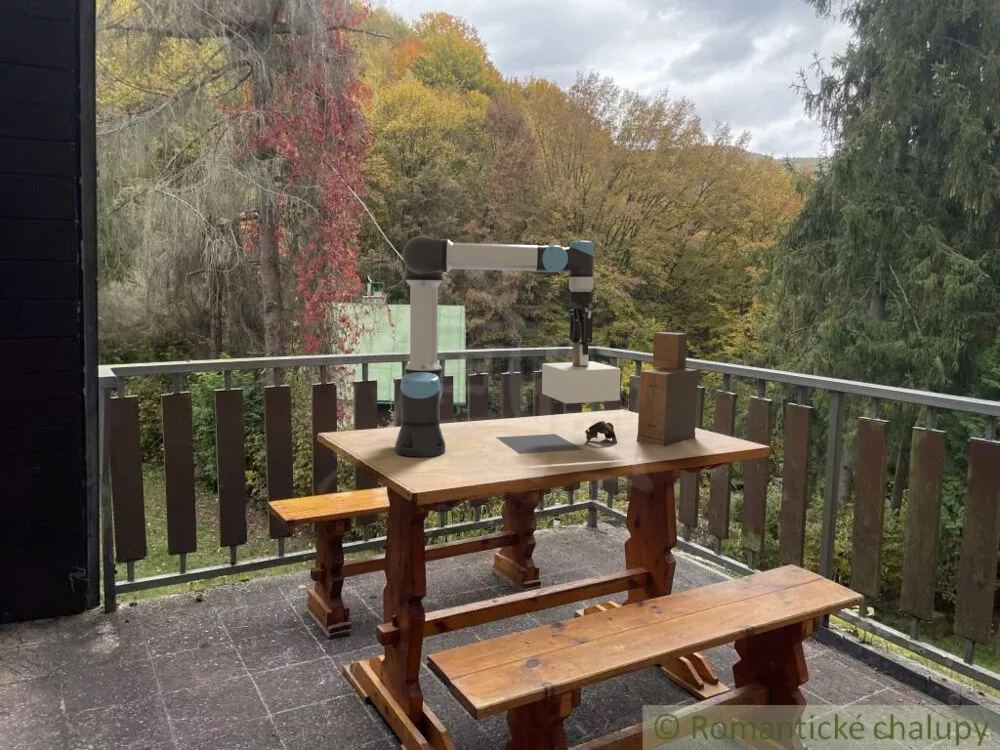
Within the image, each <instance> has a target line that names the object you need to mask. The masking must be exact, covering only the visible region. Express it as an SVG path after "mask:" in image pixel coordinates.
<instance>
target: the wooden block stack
mask: <svg viewBox="0 0 1000 750" xmlns="http://www.w3.org/2000/svg"><path fill="white" fill-rule="evenodd" d="M687 342H688V333H683V332H670V331H669V332H666V331H659V332H658V331H657V332H656V331H655V332H653V347H652V351H653V352H652V366H651V367H652V369H645V370H640V372H639V394H638V395H639V398H638V421H637V423H638V424H637V435H636V441H637V442H639V441H641V442H640V443H644V442H646V443H645V444H649V443H651V444H650V445H654V444H655V445H654V446H658V445H659V447H667V446H671V445H674V444H678V443H682V442H685V441H689V440H694V439H696V420H697V419H696V418H697V399H698V397H697V396H698V382H699V381H698V380H699V369H698V368H697V369H694V368H688V367H687V368H686V363H687V345H688V343H687ZM653 368H654V369H653Z"/></svg>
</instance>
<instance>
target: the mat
mask: <svg viewBox="0 0 1000 750" xmlns="http://www.w3.org/2000/svg"><path fill="white" fill-rule="evenodd" d="M495 438H496V439H497V440H499V441H500V442H502V443H503V444H505V445H506V446H508V447H509V448H511V449H512V450H514V451H515V452H516V453H518V454H520V455H523V454H536V453H537V454H538V453H552V452H555V453H556V452H566V451H567V452H569V451H581V450H583V451H584V448H582V447H580V446H578V445H576V444H574V443H573V442H571V441H569V440H568V439H565V438H564V437H561V436H560V435H558V434H556V433H550V434H549V433H548V434H547V433H546V434H533V435H532V434H531V435H516V436H515V435H513V436H511V435H510V436H496V437H495Z"/></svg>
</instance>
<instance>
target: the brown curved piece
mask: <svg viewBox="0 0 1000 750" xmlns="http://www.w3.org/2000/svg"><path fill="white" fill-rule="evenodd" d="M614 430H615V428H614V425H613V424H612V423H611V422H606V421H604V420H602V421H598V422H596V423H593V424H592V425H591V426H589V427H588V428H587V429H586V430H585V431H584V432H585V434H586V436H585V437H586V438H585V439H586V440H587V441H590V440H592V439H593V438H594V439H598V436H599V435H598V433H599V434H603V435H604V438H605V439H607V440H611V443H612V445H617V444H618V440H617V436H616V433H615V431H614Z"/></svg>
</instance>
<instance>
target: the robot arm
mask: <svg viewBox="0 0 1000 750" xmlns="http://www.w3.org/2000/svg"><path fill="white" fill-rule="evenodd" d="M405 243H406V244H405V245H404V248H403V250H402V259H403V263H404V265H405V269H404V270H405V282H406V283H407V284H408V285H409V286H410V287H409V288H410V292H409V293H410V297H409V300H410V302H409V303H410V305H409V309H410V310H409V313H410V314H409V315H410V319H409V321H410V322H409V323H410V325H409V329H410V330H409V331H410V332H409V337H410V338H409V339H410V340H409V343H410V344H409V350H410V351H409V363H408V364H407V365H406V366H405V371H404V375H403V376H402V377H401V379H400V387H399V388H400V428H399V432H398V435H397V438H396V442H395V444H394V445H395V446H394V449H395V450H394V452H395V454H397V453H398V455H399V454H401V455H400V456H403V455H405V456H404V457H409V456H416V457H415V458H425V457H426V458H427V457H428V456H429V457H436V456H439V455H442V453H443V454H444V453H445V452H446V442H445V440H444V436H443V433H442V429H441V426H440V413H441V412H440V411H441V407H440V406H441V405H440V404H441V399H442V396H443V393H444V392H443V391H444V386H443V367H442V366H441V365H440V364H439V363H438V327H439V326H438V323H439V321H438V320H439V319H438V314H439V312H438V311H439V310H438V304H439V300H438V298H439V293H438V292H439V291H438V290H439V289H438V288H439V286H440V285H441V284H442V283H443V282H444V281H443V278H444V277H443V274H444V273H449V272H450V271H451V270H478V271H479V270H480V271H481V270H483V271H516V272H518V271H520V272H521V271H523V272H524V271H525V272H534V273H539V272H540V273H544V272H545V273H561V272H562V273H563V272H564V273H567V272H569V276H568V282H569V283H568V289H569V290H570V291H569V295H568V302H569V304H573V307H572V309H568V313H569V336H568V337H569V338H568V339H569V341H571V343H572V345H573V344H576V343H579V345H580V365H588V362H589V354H590V353H589V351H590V350H589V349H590V348H589V347H590V344H592V343H593V322H594V321H593V320H594V311H593V310H592V311H590V307H589V304H593V303H594V292H593V291H592V290H593V289H594V283H595V280H594V268H595V267H594V263H595V260H594V257H595V253H594V243H593V242H592V241H590V240H572V241H570V243H569V245H568V247H562V246H560V245H557V244H556V245H555V244H554V245H532V244H499V243H496V244H495V243H472V242H471V243H470V242H469V243H467V242H464V243H463V242H462V243H461V242H452V241H451V240H450V239H448V238H447V239H446V238H437V237H436V238H435V237H430V236H427V235H418V236H414V237H412V238H410V239H409V240H408V241H407V242H405Z"/></svg>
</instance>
